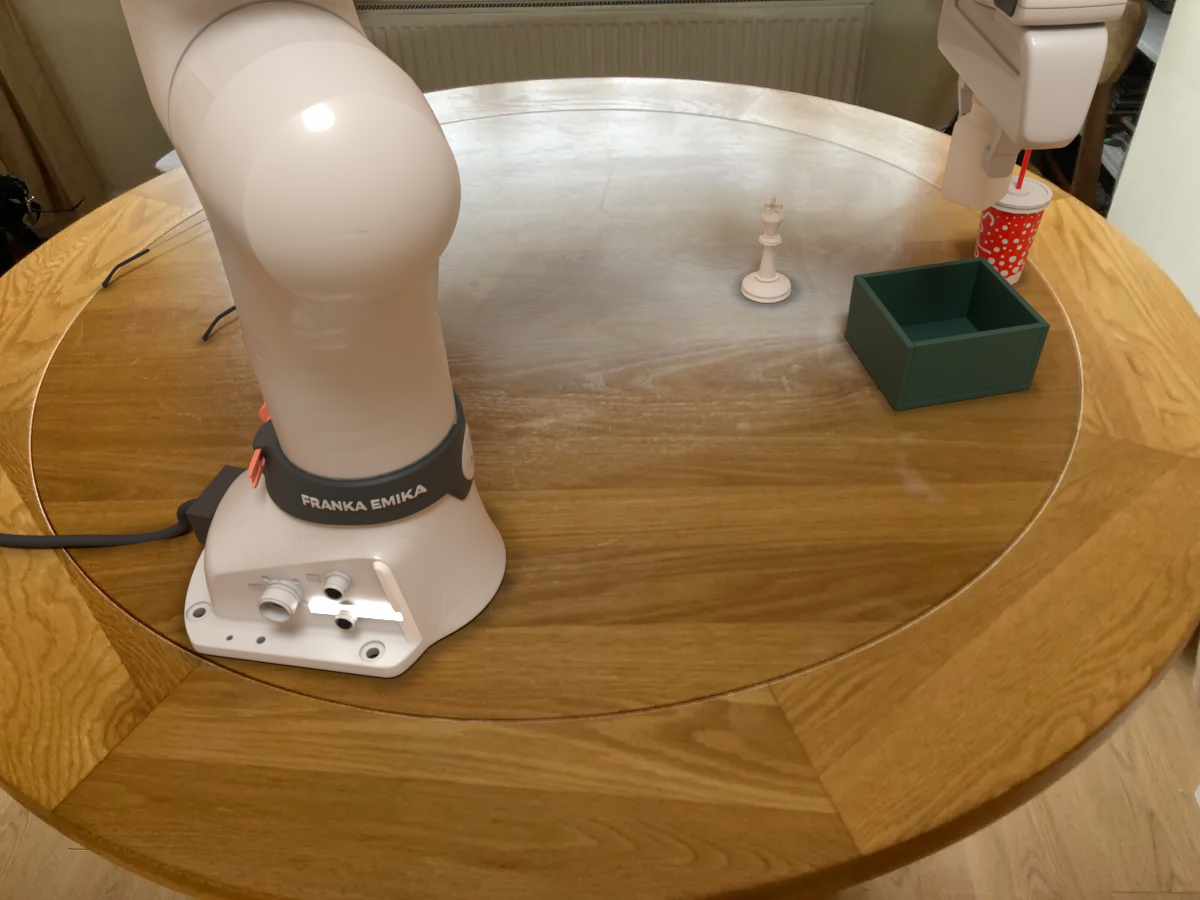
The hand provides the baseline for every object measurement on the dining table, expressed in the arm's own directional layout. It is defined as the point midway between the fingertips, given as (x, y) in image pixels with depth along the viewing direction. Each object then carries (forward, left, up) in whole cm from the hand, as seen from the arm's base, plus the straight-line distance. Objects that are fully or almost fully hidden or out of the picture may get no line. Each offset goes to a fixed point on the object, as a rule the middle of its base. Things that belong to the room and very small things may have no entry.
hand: (981, 154), depth 72 cm
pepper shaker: (0, 0, -4) cm, 4 cm away
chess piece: (-13, +13, -20) cm, 27 cm away
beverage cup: (+10, +14, -20) cm, 26 cm away
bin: (0, 0, -19) cm, 19 cm away
